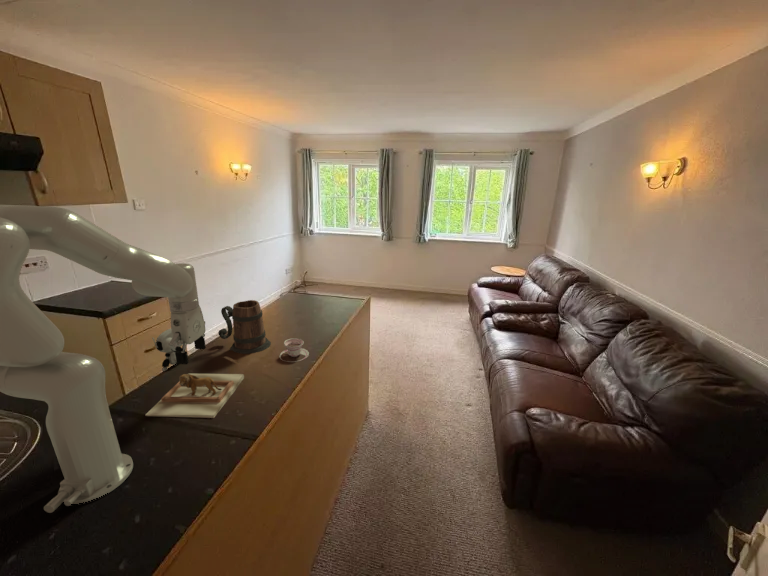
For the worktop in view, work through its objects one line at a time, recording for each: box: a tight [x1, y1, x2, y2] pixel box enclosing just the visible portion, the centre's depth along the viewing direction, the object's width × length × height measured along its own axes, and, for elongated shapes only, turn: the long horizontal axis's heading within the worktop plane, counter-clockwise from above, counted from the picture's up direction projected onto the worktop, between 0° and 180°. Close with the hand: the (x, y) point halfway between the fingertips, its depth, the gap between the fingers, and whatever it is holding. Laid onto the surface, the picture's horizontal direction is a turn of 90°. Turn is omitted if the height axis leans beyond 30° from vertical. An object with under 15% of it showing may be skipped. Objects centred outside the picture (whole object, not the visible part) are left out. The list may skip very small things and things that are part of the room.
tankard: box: [218, 299, 272, 355], centre depth 135 cm, size 24×17×20 cm
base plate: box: [145, 373, 245, 419], centre depth 103 cm, size 22×20×3 cm
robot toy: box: [152, 328, 183, 372], centre depth 119 cm, size 12×4×15 cm, turn 166°
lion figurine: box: [179, 373, 222, 395], centre depth 102 cm, size 12×4×7 cm, turn 103°
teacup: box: [278, 337, 310, 363], centre depth 130 cm, size 12×12×6 cm
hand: (192, 355), depth 98 cm, fingers open, 9 cm apart
